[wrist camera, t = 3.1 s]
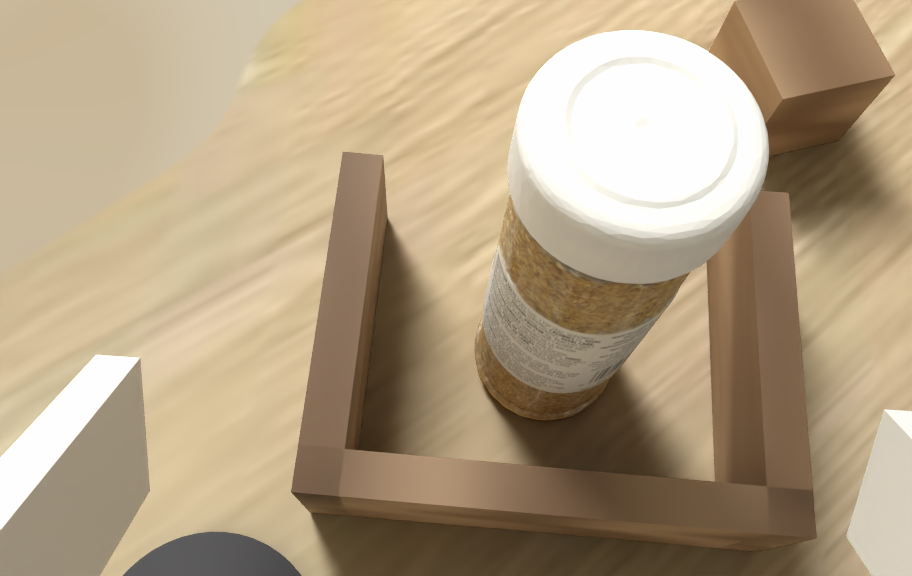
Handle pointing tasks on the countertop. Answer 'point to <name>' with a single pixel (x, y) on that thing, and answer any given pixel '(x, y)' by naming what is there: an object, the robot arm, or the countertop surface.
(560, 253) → the spice jar
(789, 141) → the walnut cube
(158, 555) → the dark grey round disc
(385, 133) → the countertop surface
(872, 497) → the robot arm
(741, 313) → the cubby
